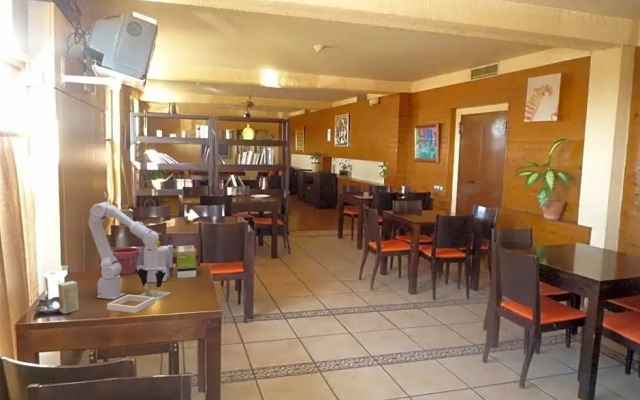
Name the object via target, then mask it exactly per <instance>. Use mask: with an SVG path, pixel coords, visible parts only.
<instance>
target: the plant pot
mask: <svg viewBox="0 0 640 400" xmlns="http://www.w3.org/2000/svg"><path fill="white" fill-rule="evenodd" d="M111 251H112V253H113V256H114V257H116V258H117V261H118V262H119V263H120V264H121V266H122V270H121V272H120V273H119V274H120V275H124V276H125V275H132V274H135V273H136V270H137V266H138V261H139V260H138V259H139V258H140V255H141V251H140V249H139V248H137V247H120V248H115V249H111Z"/></svg>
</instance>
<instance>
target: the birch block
mask: <svg viewBox="0 0 640 400" xmlns="http://www.w3.org/2000/svg"><path fill="white" fill-rule="evenodd" d="M158 288H159V287H157V282H151V281H150V282H147V283H146V284H145V286H144V292H145V296H147V297H154V296H156V295H158V291H159V289H158Z"/></svg>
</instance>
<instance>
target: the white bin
mask: <svg viewBox="0 0 640 400" xmlns="http://www.w3.org/2000/svg"><path fill="white" fill-rule="evenodd" d="M127 302H137V303H138V304H137V305H128V304H127V305H125V303H127ZM154 304H156V301H155V297H147V296H138V295H137V294H136V295H135V294H125V295H123V296H121V297H118V298H116V299H114V300H112V301H110V302H108V303H107V304H106V310H107V311H115V312H123V313H131V314H137V313H139V312H140V311H142V310H144V309H146V308H148V307H150V306H152V305H154Z"/></svg>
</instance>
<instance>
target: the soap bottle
mask: <svg viewBox="0 0 640 400" xmlns="http://www.w3.org/2000/svg"><path fill="white" fill-rule="evenodd" d="M157 233H158V235H159V236H160V235H162V232H157ZM157 245H158V266H160V267H165V268H167V250H166V247H163V246H161V241H160V240H159V239H158V241H157ZM143 265H145V248H143ZM155 273H157V271H148V274H147V283H148V282H150V281H151V282H157V279H156V275H155ZM167 274H168V273H167V272H166V274H165V275H164V277H163V280H162V283H163V282H167V280H168V279H167V277H168V276H167Z"/></svg>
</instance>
